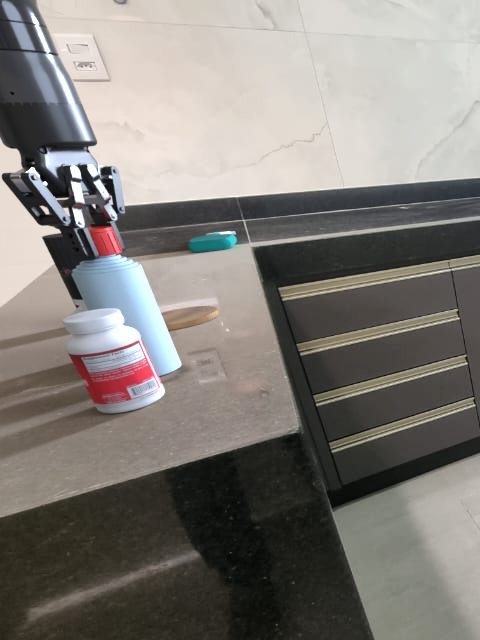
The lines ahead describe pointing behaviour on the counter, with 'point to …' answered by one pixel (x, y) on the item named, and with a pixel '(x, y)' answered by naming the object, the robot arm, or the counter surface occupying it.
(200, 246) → the teal soap bar
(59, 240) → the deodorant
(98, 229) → the cap
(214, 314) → the coaster
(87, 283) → the bottle
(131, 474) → the counter surface
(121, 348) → the pill bottle
